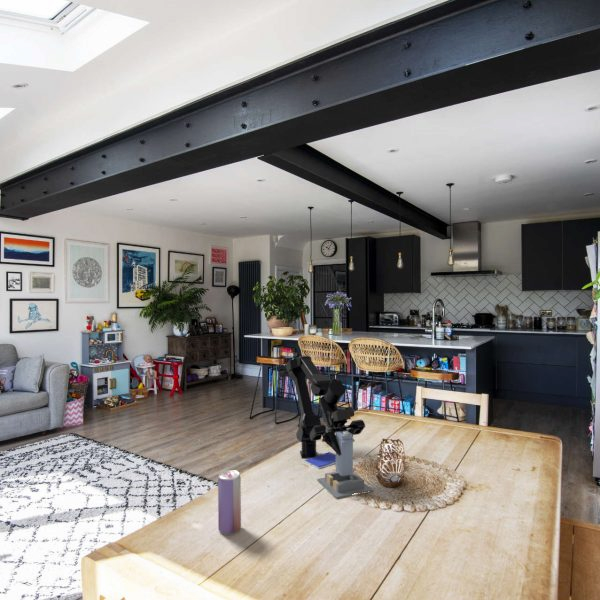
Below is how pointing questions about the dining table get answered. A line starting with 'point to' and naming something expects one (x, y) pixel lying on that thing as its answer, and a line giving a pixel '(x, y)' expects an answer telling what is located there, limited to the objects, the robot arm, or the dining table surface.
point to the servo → (344, 453)
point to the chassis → (343, 484)
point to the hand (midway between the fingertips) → (346, 454)
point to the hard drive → (322, 460)
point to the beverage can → (229, 502)
